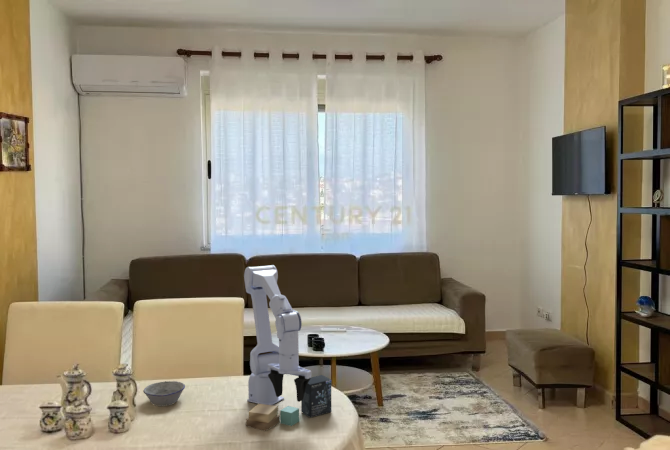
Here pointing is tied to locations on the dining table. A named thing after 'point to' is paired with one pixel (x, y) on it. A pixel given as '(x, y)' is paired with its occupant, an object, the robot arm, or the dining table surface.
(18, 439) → the dining table surface
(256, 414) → the slab top
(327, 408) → the box
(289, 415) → the teal cube
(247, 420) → the slab bottom
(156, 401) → the bowl
